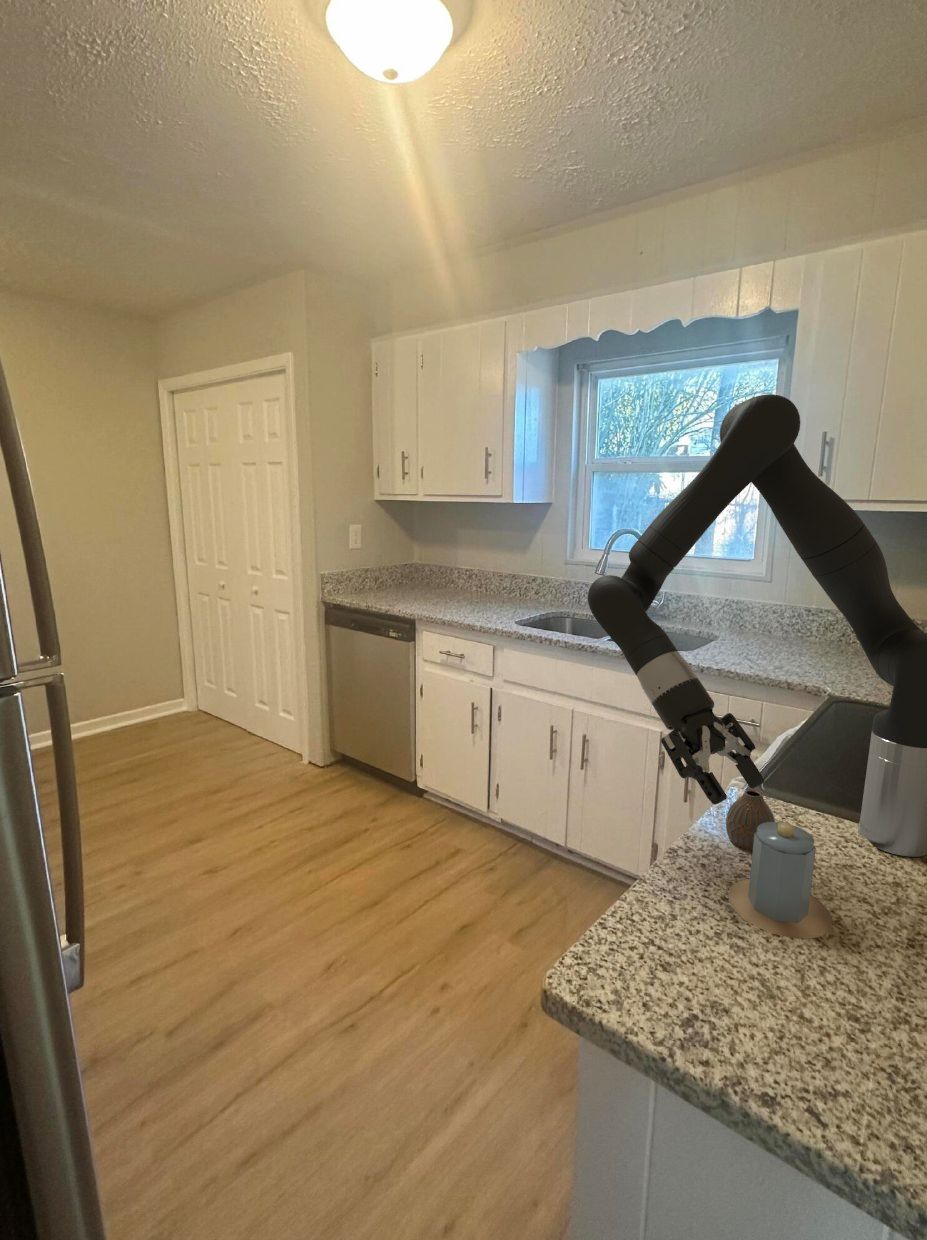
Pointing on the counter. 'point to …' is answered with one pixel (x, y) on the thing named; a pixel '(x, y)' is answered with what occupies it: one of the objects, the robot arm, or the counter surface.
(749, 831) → the vase
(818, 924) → the trivet
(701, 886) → the counter surface
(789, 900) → the octagonal knobbed canister
